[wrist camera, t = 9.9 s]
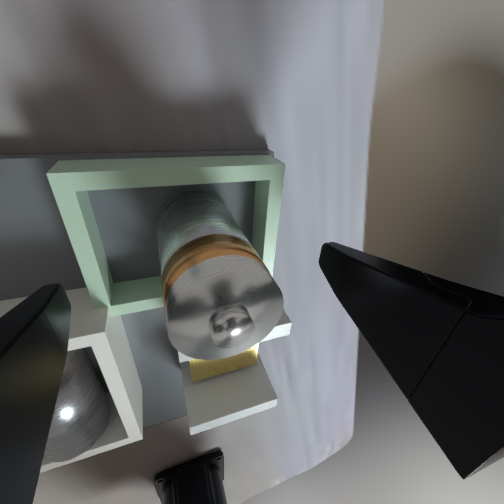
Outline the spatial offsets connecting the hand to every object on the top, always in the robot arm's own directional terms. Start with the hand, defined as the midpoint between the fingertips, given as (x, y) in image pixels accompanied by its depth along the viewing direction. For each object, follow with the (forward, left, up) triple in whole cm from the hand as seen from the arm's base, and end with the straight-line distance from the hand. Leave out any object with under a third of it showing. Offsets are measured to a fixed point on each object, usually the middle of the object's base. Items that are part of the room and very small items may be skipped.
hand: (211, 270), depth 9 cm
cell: (0, 0, -4) cm, 4 cm away
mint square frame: (-6, +4, -4) cm, 8 cm away
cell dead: (-7, +7, -4) cm, 11 cm away
